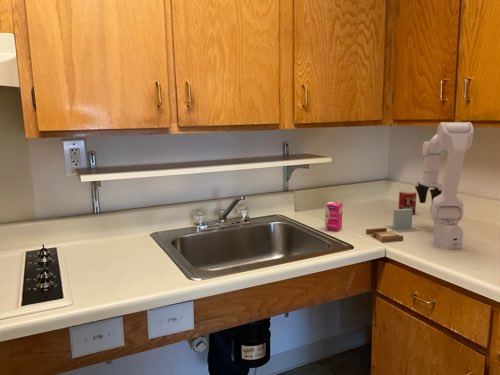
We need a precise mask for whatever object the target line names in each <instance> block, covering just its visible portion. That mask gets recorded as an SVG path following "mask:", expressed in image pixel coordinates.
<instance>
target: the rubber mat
mask: <svg viewBox="0 0 500 375" xmlns="http://www.w3.org/2000/svg"><path fill="white" fill-rule="evenodd" d="M384 228H387V229H390V230H391V231H394V232H395V233H397V234H400V233H411V232H421V230H420V229H417V228H415V227H413V226H412V228H410V229H397V230H395V229H393V225H385V226H384Z"/></svg>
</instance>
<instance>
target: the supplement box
mask: <svg viewBox="0 0 500 375" xmlns="http://www.w3.org/2000/svg"><path fill="white" fill-rule="evenodd" d="M343 205H344V204H343V203H342V202H334V201H328V202H326V204H325V208H324V209H325V210H324V214H325V215H324V231H328V232H336V233H339V232H340V231H341V230H342V229H343V228H342V227H343V224H342V223H343Z"/></svg>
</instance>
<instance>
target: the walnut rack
mask: <svg viewBox="0 0 500 375" xmlns="http://www.w3.org/2000/svg"><path fill="white" fill-rule="evenodd" d="M384 232H395V231H394V230H391V231H390V230H389V231H388V227H377V228H367V229H366V230H365V235H367V236H369V237H372V238H373V239H375V240H377V241H378V242H381V243H382V244H384V243H394V242H395V243H396V242H403V241H404V235H399V236H390V237H381V240H379V239H377V238H376V236H377V233H384Z"/></svg>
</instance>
